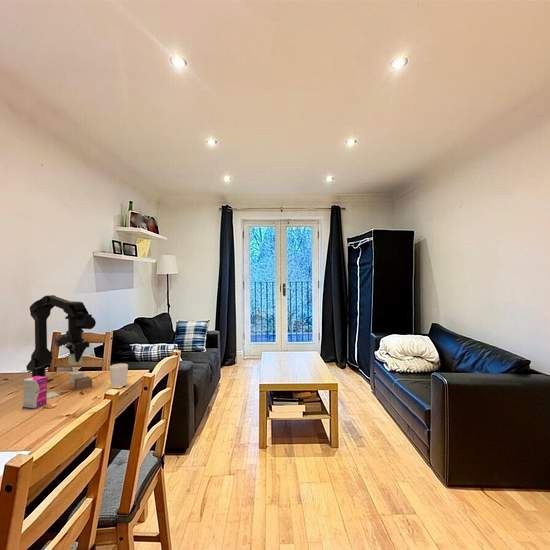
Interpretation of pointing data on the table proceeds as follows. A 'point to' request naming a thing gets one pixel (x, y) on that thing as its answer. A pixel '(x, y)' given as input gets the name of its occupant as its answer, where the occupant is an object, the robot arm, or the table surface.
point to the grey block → (76, 376)
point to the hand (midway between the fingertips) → (75, 361)
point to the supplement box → (34, 392)
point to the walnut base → (83, 382)
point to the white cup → (118, 375)
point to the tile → (52, 395)
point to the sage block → (73, 359)
